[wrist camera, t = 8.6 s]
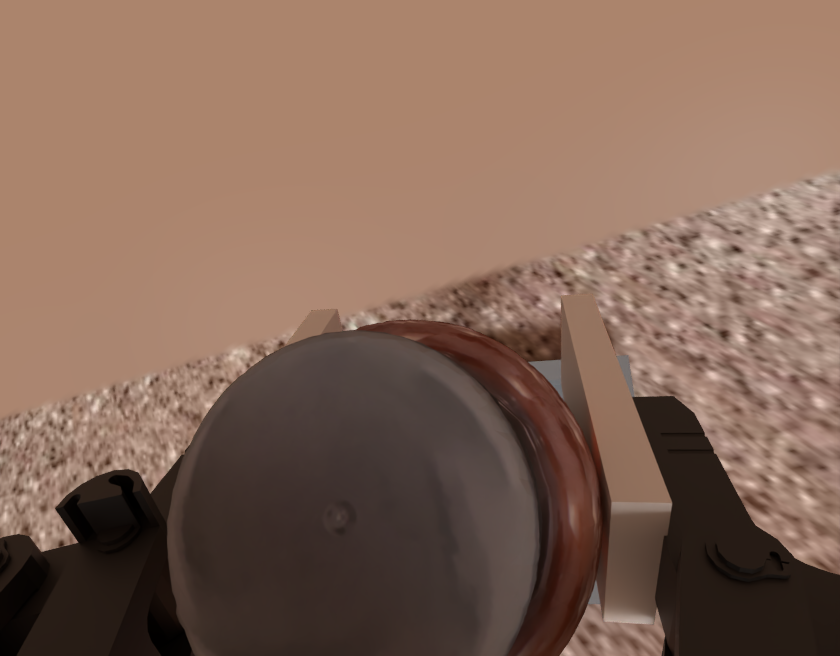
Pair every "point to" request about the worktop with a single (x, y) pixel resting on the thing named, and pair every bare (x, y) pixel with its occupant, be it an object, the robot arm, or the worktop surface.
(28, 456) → the worktop surface
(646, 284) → the worktop surface
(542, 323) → the worktop surface
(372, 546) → the supplement bottle
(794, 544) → the worktop surface
